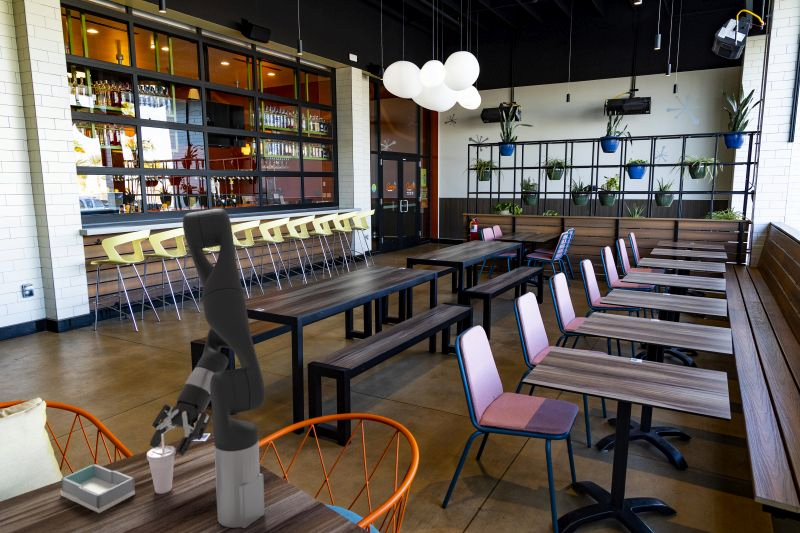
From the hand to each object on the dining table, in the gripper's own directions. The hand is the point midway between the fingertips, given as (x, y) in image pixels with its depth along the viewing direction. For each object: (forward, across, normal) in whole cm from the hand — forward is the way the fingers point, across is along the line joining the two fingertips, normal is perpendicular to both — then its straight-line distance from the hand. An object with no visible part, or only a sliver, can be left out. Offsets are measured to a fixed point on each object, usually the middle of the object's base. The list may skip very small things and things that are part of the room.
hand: (165, 450), depth 129 cm
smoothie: (+8, 0, +6) cm, 10 cm away
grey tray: (+13, -12, 0) cm, 18 cm away
